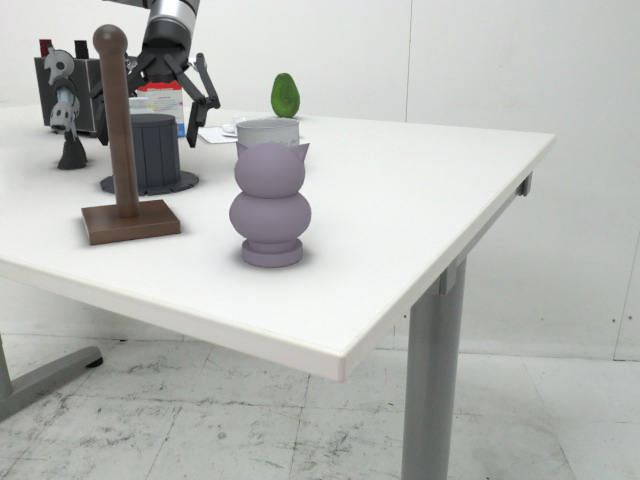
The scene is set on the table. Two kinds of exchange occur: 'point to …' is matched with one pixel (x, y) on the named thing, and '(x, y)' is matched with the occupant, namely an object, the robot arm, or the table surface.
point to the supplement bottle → (139, 105)
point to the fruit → (285, 96)
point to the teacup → (269, 131)
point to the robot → (65, 106)
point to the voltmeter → (85, 81)
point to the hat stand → (122, 157)
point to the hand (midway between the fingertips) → (145, 142)
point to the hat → (156, 156)
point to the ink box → (165, 101)
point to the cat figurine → (270, 203)
